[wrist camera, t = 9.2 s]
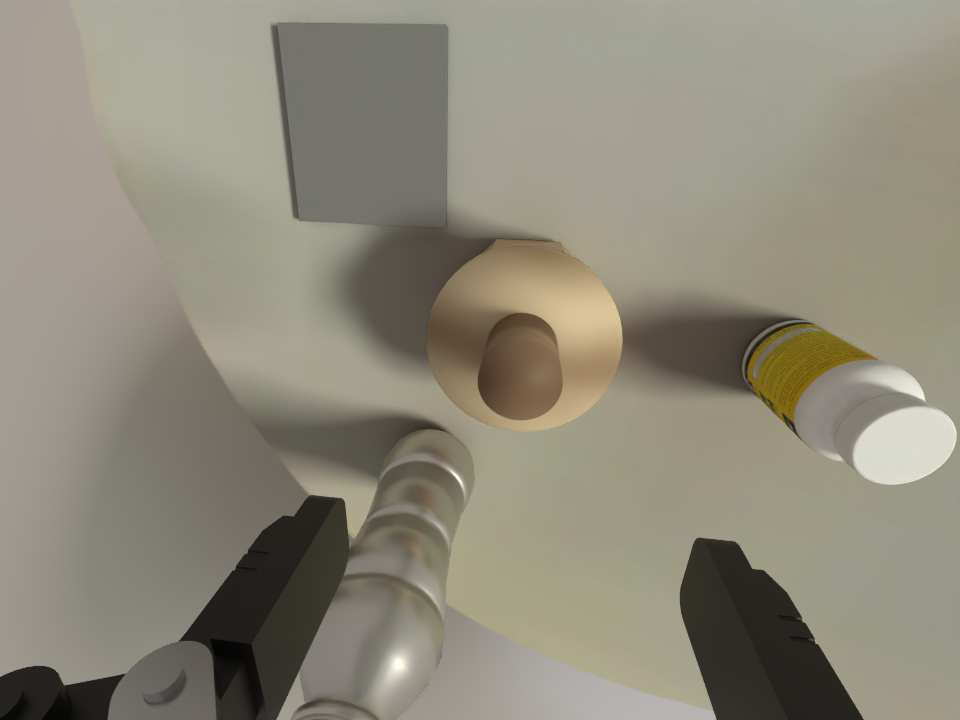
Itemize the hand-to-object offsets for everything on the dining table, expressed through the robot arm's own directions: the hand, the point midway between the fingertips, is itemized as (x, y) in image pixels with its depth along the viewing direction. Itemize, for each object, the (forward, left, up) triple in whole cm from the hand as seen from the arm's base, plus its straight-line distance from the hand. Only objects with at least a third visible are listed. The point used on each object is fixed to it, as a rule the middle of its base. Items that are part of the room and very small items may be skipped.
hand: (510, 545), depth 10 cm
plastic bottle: (+12, -6, -20) cm, 24 cm away
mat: (-10, -10, -20) cm, 24 cm away
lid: (0, 0, -15) cm, 15 cm away
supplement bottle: (+2, +16, -20) cm, 26 cm away
